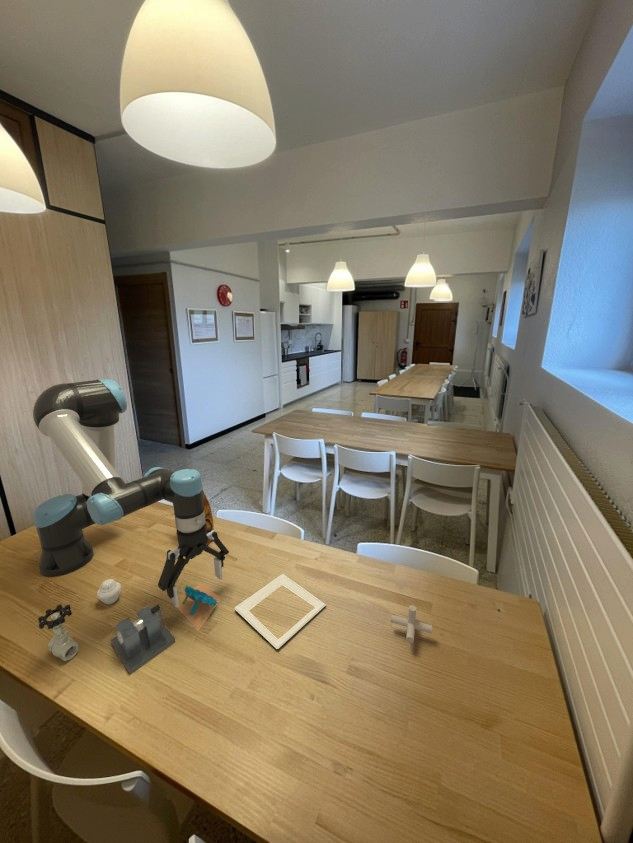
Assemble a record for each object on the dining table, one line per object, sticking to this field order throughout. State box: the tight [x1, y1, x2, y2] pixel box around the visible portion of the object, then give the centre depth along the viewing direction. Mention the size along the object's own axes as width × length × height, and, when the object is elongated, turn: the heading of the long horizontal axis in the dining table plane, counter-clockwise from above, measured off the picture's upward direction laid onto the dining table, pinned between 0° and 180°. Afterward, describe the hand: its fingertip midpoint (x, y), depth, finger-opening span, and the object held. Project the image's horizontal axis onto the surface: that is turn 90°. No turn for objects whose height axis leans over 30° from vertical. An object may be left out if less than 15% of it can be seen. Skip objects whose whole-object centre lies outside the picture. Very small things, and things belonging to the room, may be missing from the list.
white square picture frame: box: [233, 573, 327, 650], centre depth 94 cm, size 19×19×2 cm
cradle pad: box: [176, 582, 221, 632], centre depth 96 cm, size 15×10×1 cm, turn 49°
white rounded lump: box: [96, 578, 122, 605], centre depth 97 cm, size 6×6×7 cm
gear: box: [182, 584, 218, 615], centre depth 94 cm, size 11×6×10 cm
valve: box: [37, 604, 80, 662], centre depth 80 cm, size 7×7×12 cm
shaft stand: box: [110, 604, 176, 675], centre depth 83 cm, size 12×11×8 cm
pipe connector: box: [390, 604, 433, 644], centre depth 84 cm, size 10×10×10 cm
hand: (198, 590), depth 95 cm, fingers open, 13 cm apart
